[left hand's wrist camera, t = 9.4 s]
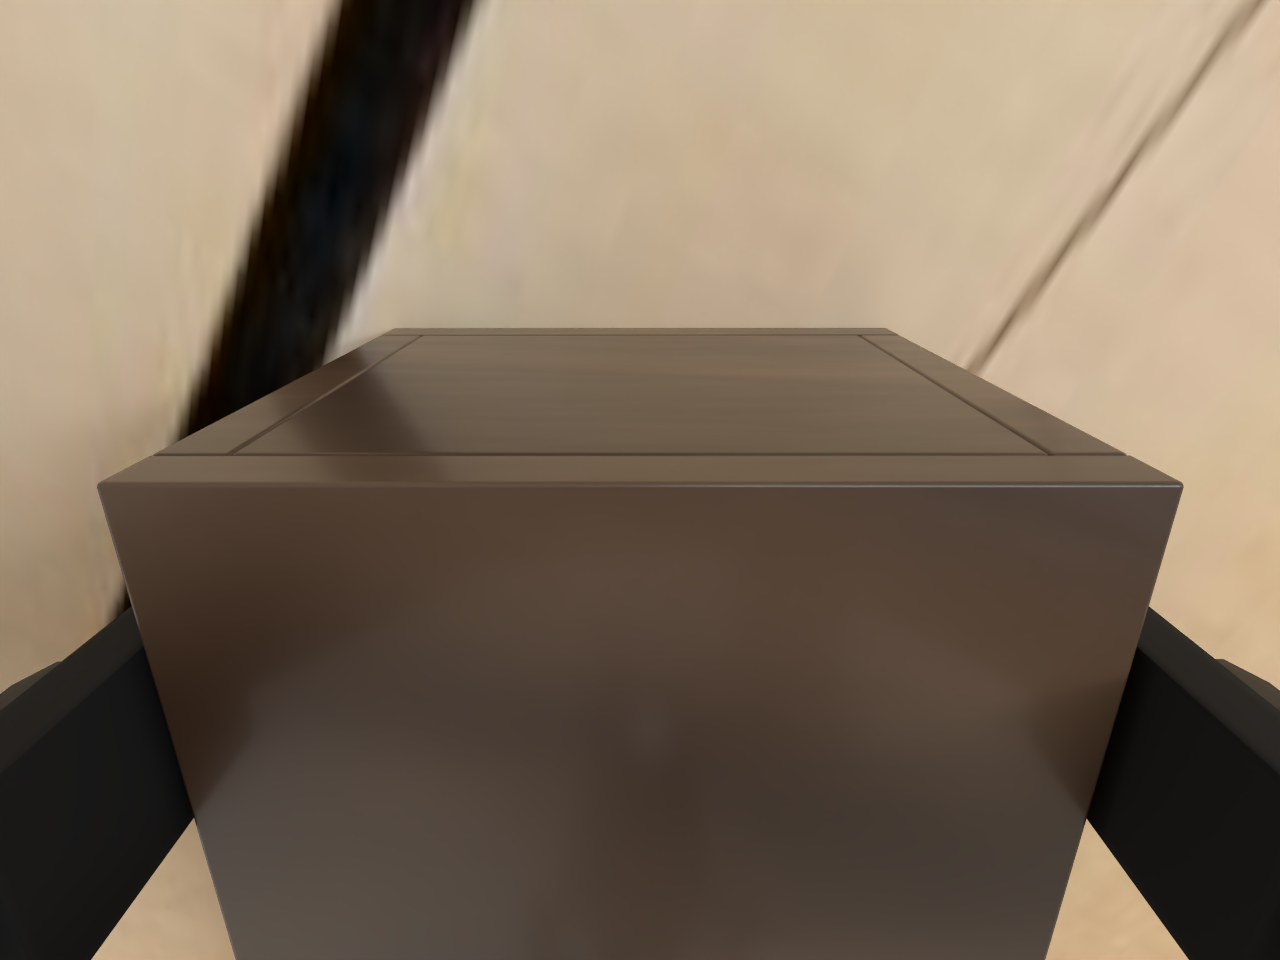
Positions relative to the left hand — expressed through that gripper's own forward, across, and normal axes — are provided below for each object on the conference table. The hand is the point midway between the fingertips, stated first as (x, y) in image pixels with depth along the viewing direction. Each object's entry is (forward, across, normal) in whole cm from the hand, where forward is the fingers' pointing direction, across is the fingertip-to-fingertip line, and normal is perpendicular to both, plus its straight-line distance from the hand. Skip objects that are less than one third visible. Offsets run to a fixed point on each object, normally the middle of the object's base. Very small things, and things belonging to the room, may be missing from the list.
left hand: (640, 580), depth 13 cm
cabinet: (+5, 0, -7) cm, 9 cm away
